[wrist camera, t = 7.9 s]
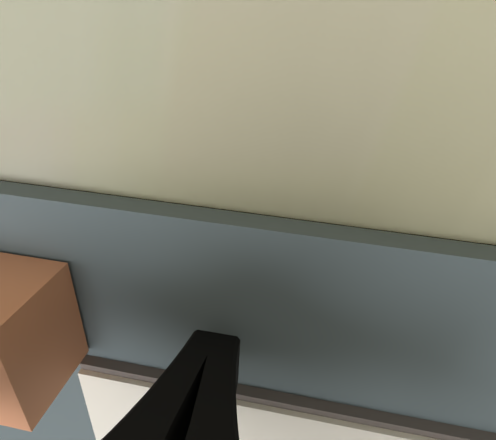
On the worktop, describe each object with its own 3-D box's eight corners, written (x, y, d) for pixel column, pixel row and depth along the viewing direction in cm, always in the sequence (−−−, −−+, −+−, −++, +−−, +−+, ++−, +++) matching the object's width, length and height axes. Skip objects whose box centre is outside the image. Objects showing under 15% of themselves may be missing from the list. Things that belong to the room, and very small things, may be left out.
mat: (543, 559, 16) (553, 584, 15) (13, 439, 19) (2, 454, 19) (861, 293, 8) (912, 318, 8) (-118, 165, 11) (-146, 174, 11)
